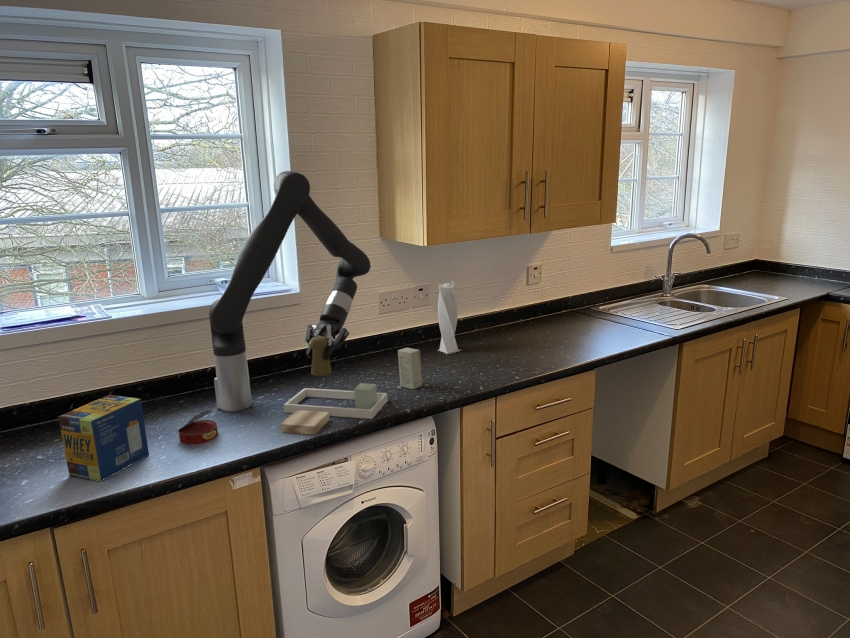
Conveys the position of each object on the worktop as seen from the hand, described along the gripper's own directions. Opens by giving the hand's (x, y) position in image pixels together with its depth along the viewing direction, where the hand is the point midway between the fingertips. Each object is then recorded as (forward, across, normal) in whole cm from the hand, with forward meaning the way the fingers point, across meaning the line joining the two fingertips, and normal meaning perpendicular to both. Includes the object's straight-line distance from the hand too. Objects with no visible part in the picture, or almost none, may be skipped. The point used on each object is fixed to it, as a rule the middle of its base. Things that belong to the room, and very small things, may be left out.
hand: (316, 357), depth 182 cm
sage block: (+8, +14, +14) cm, 21 cm away
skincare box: (-8, +17, +30) cm, 35 cm away
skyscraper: (-35, +15, +57) cm, 69 cm away
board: (+20, +4, +2) cm, 21 cm away
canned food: (+32, -20, -9) cm, 39 cm away
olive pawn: (+2, 0, +5) cm, 6 cm away
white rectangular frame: (+9, +4, +13) cm, 16 cm away
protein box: (+47, -28, -24) cm, 60 cm away
